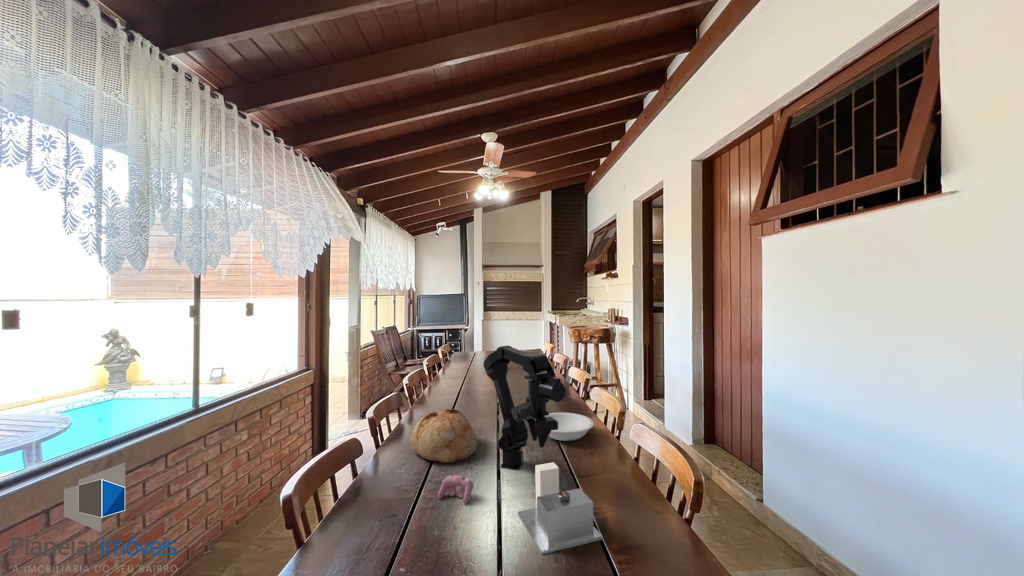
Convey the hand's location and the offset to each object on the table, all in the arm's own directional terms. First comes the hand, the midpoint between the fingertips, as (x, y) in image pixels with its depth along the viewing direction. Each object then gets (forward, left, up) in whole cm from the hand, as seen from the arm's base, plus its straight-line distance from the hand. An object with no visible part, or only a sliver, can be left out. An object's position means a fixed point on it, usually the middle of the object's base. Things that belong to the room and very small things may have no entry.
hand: (538, 443), depth 120 cm
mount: (+12, -20, -12) cm, 26 cm away
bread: (-41, +10, -12) cm, 44 cm away
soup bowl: (-1, +39, -12) cm, 41 cm away
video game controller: (-20, -17, -12) cm, 29 cm away
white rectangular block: (+9, -18, -11) cm, 23 cm away
